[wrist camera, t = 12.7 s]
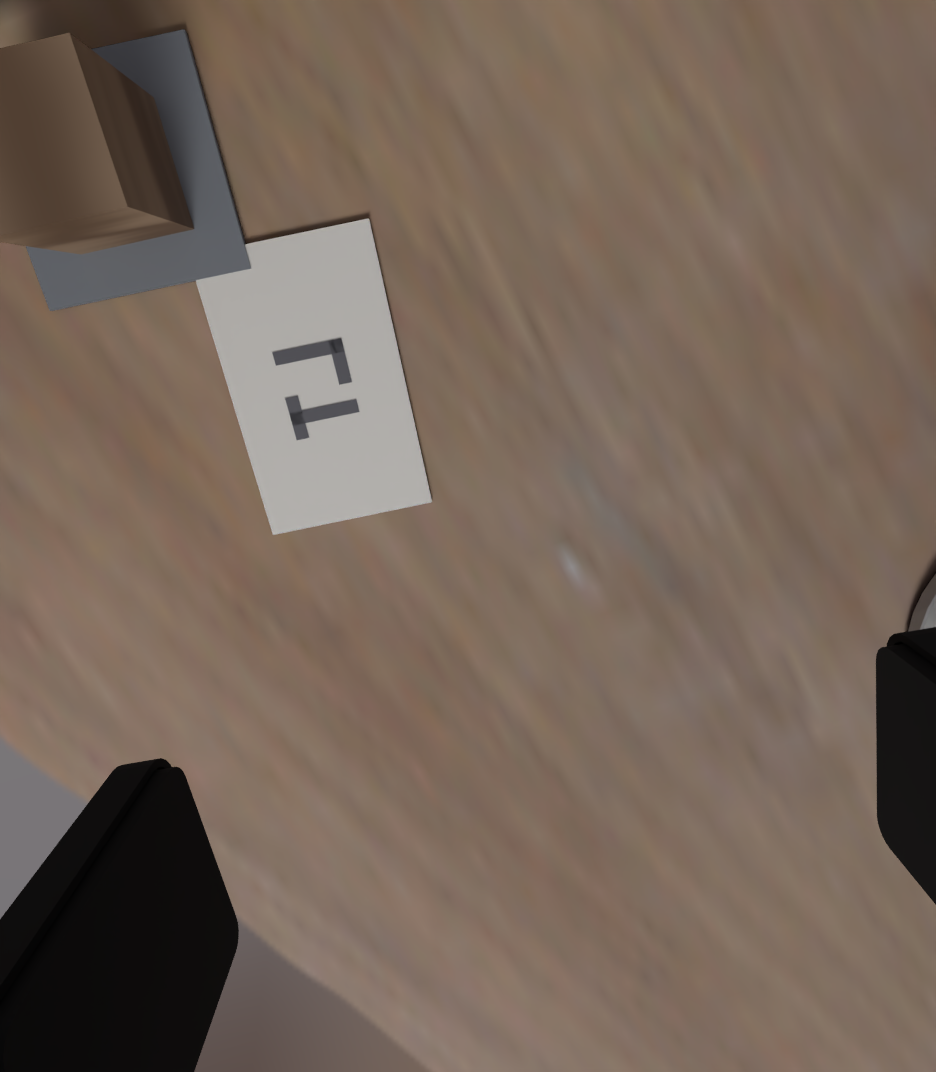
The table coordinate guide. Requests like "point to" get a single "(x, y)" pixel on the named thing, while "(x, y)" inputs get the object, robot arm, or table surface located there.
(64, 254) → the rubber mat
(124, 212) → the walnut block
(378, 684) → the table surface
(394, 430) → the card
